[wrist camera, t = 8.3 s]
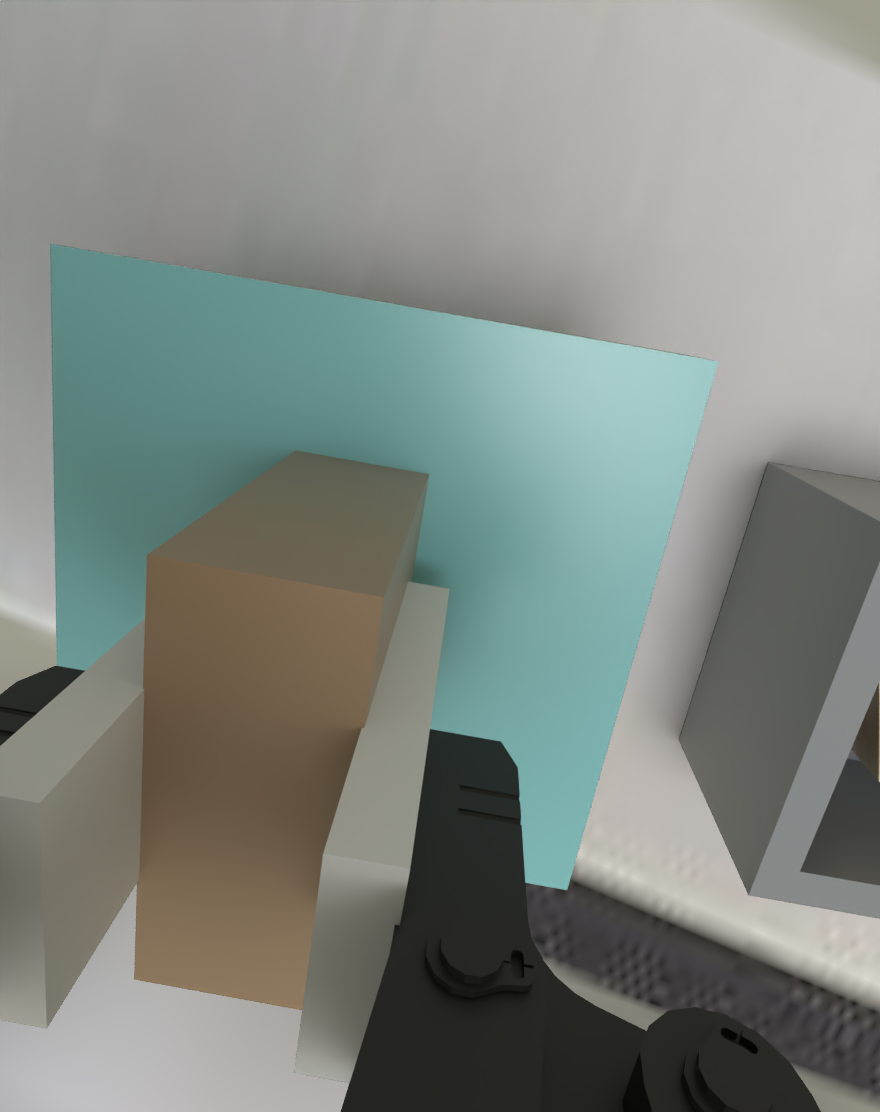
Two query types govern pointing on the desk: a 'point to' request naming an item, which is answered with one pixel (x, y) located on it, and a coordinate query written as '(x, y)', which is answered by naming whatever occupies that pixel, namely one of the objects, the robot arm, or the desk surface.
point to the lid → (341, 566)
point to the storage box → (796, 695)
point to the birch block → (870, 737)
